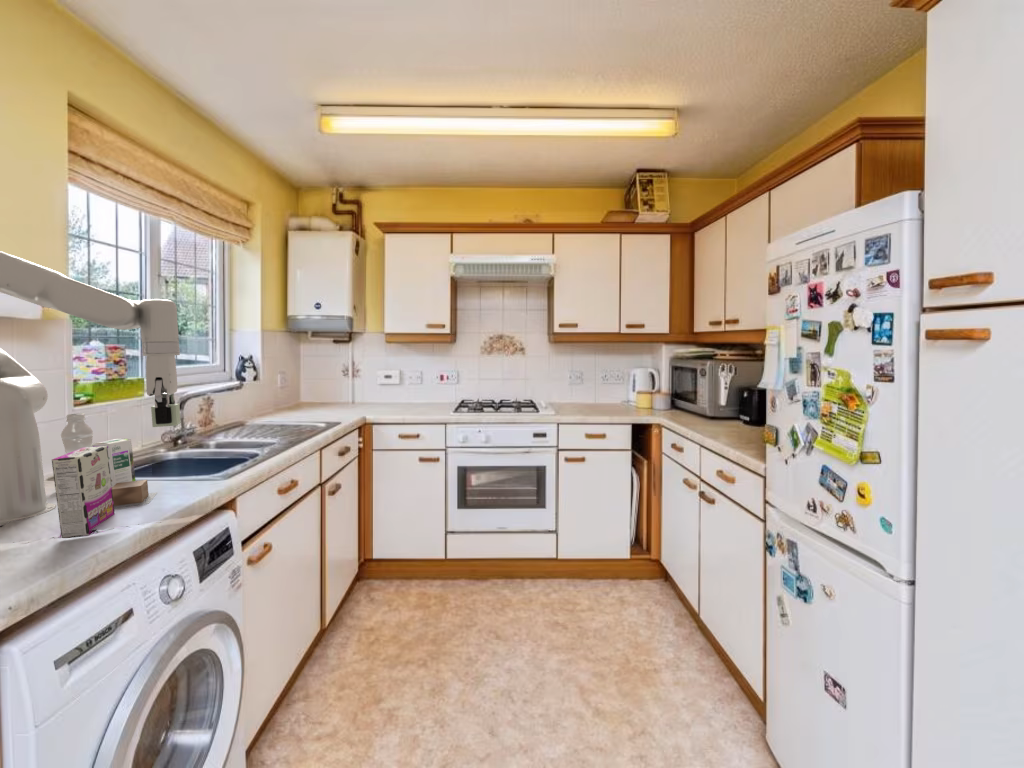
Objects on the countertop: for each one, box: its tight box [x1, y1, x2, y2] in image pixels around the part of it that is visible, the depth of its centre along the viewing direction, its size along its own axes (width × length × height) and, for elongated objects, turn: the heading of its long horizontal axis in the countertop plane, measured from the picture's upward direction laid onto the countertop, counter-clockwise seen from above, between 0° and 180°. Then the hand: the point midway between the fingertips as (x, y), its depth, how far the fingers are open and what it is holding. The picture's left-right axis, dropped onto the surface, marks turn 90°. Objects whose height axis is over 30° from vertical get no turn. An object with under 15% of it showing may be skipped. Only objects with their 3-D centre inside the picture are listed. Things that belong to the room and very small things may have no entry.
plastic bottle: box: [60, 412, 94, 454], centre depth 135 cm, size 6×7×20 cm
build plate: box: [114, 492, 158, 509], centre depth 118 cm, size 9×10×1 cm
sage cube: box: [150, 403, 182, 428], centre depth 123 cm, size 5×5×5 cm
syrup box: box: [92, 438, 137, 487], centre depth 124 cm, size 6×6×14 cm
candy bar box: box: [51, 446, 115, 539], centre depth 102 cm, size 11×5×16 cm, turn 17°
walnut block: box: [112, 479, 149, 506], centre depth 118 cm, size 6×6×4 cm
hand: (166, 421), depth 123 cm, fingers closed on sage cube, 5 cm apart
